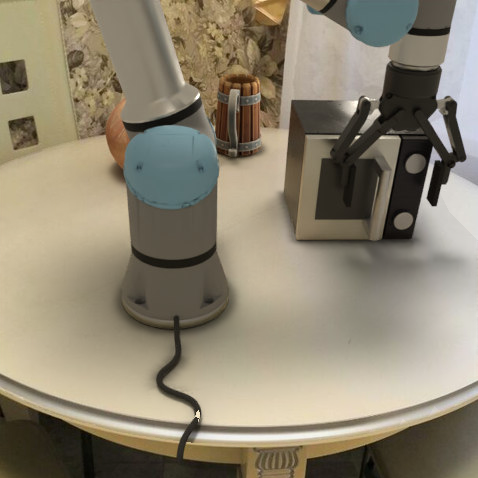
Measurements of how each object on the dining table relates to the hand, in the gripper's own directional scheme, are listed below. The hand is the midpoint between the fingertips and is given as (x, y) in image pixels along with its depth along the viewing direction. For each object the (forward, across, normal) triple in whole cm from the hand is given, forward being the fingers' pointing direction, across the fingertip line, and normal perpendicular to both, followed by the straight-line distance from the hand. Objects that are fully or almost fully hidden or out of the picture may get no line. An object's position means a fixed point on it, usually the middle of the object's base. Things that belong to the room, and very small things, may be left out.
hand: (389, 203), depth 97 cm
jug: (+8, +38, -32) cm, 51 cm away
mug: (+9, +22, -41) cm, 47 cm away
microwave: (+9, +3, -12) cm, 15 cm away
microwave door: (+9, +6, -2) cm, 11 cm away
